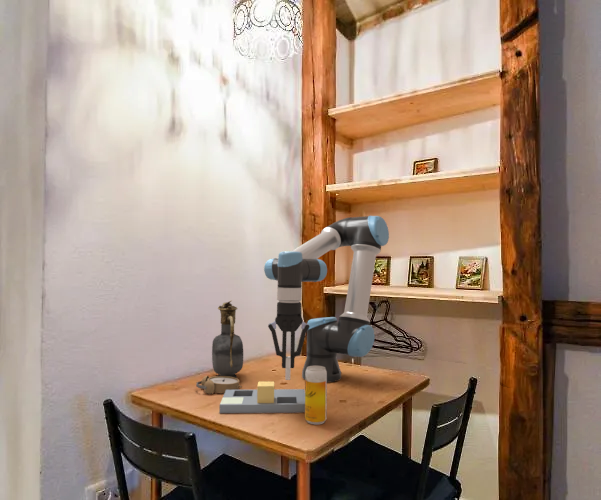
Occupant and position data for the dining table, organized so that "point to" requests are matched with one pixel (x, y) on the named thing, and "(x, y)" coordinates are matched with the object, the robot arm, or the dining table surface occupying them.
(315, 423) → the beer can
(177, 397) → the dining table surface
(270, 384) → the block
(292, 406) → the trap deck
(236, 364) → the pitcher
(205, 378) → the alarm clock
